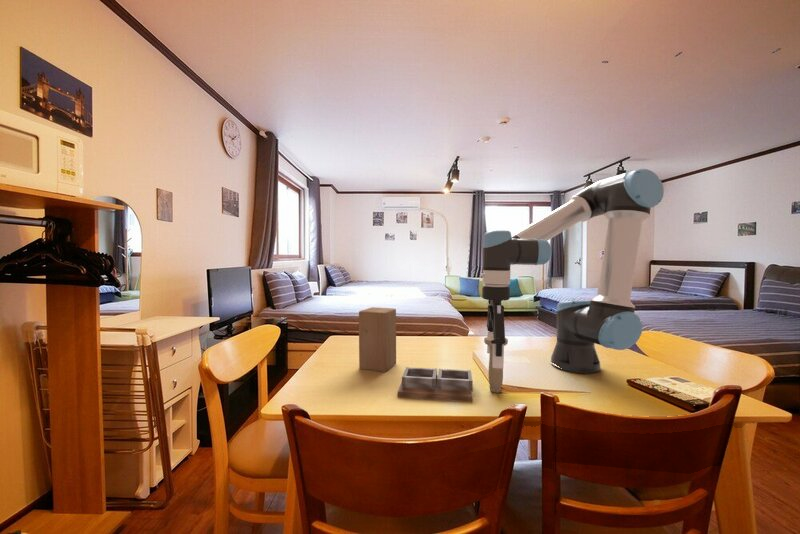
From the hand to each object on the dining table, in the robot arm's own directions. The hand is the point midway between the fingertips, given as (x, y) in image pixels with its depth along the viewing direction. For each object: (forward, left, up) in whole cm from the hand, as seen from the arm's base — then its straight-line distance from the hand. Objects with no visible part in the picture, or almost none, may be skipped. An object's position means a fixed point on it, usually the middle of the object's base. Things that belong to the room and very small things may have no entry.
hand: (494, 360), depth 93 cm
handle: (0, 0, -9) cm, 9 cm away
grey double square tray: (+17, +1, -9) cm, 19 cm away
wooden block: (+38, -16, -9) cm, 42 cm away
